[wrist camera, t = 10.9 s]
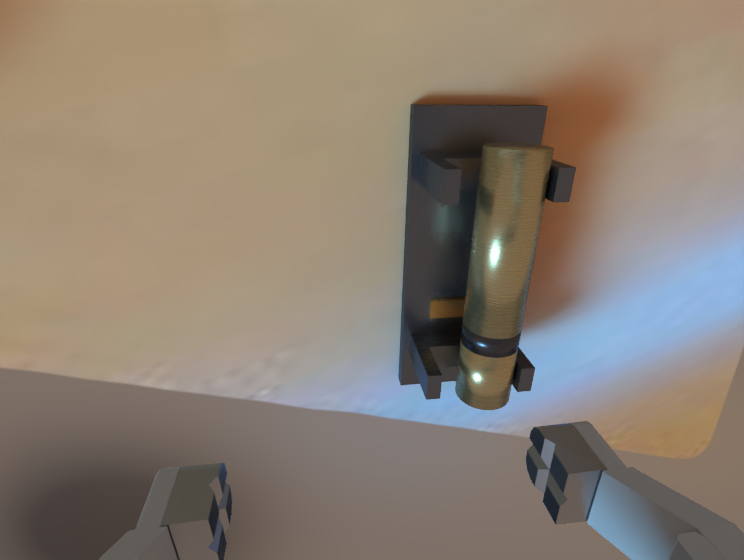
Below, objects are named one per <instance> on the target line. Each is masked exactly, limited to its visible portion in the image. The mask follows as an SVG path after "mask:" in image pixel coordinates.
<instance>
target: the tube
mask: <svg viewBox="0 0 744 560" xmlns="http://www.w3.org/2000/svg"><path fill="white" fill-rule="evenodd" d="M553 151H554V148H552V147H550V146H545V145H539V144H531V143H516V142H496V143H486V144H483V147H482V156H481V165H480V174H479V183H478V192H477V200H476V209H475V218H474V227H473V236H472V245H471V253H470V262H469V271H468V280H467V289H466V298H465V307H464V315H463V324H462V333H461V342H460V351H459V360H458V368H457V377H456V386H455V391H456V394H457V396H458V397H459V398H460V400H462V401H463V402H464V403H466V404H467V405H469V406H471V407H474V408H477V409H482V410H495V409H499V408H501V407H503V406H505V405H506V404H507V402H508V400H509V396H510V390H511V385H512V379H513V374H514V368H515V362H516V357H517V351H518V346H519V340H520V335H521V329H522V324H523V318H524V312H525V307H526V301H527V296H528V290H529V285H530V279H531V273H532V268H533V262H534V257H535V251H536V246H537V240H538V234H539V229H540V223H541V218H542V212H543V207H544V201H545V195H546V190H547V184H548V179H549V173H550V168H551V162H552V157H553Z"/></svg>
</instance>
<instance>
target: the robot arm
mask: <svg viewBox="0 0 744 560" xmlns="http://www.w3.org/2000/svg"><path fill="white" fill-rule="evenodd" d="M530 440H531V441H532V443H533V445H532V446H531V447H530V448H529V449H528V450H527V455H526V464H527V470H528V473H529V476H530V479H531V481H532V483H533V484H534V486H535V487H536V488H538V489H539V490H540V491H542V492H543V493H544V497H543V503H544V505H545V506H546V508H547V510H548V512H549V513H550V515H551V517H552V519H553V521H554V523H555V524H565V523H573V522H583V521H587V523H588V524H589V525H590V526H591V527H593V528H594V529H595V530H596V531H598V532H599V533H600V534H601V535H602V536H604V537H605V538H606V539H607V540H608V541H610V542H611V543H612V544H613V545H615V546H616V547H617V548H618V549H619V550H621V551H622V552H623V553H624V554H625V555H627V556H628V557H629V558H630V559H632V560H744V533H743V532H742V531H741V530H740V529H739V528H738V527H737V526H736V525H735V524H734V523H732V522H730V521H728V520H726V519H725V518H723V517H721V516H719V515H718V514H716V513H714V512H712V511H710V510H709V509H707V508H705V507H703V506H701V505H700V504H698V503H696V502H694V501H692V500H690V499H689V498H687V497H685V496H683V495H681V494H680V493H678V492H676V491H674V490H672V489H671V488H669V487H667V486H665V485H663V484H662V483H660V482H658V481H656V480H655V479H653V478H651V477H649V476H647V475H646V474H644V473H642V472H640V471H638V470H637V469H635V468H633V467H629V468H627V467H626V466H625V465H624V463H623V462H622V461H621V460H620V459H619V457H618V456H617V455H616V453H615V452H614V451H613V450H612V449H611V447H610V446H609V445H608V444H607V443H606V441H605V440H604V439H603V438H602V436H601V435H600V434H599V433H598V432H597V430H596V429H595V428H594V427H593V425H592V424H591V423H589V422H587V421H582V422H573V423H568V424H567V423H564V424H556V425H548V426H540V427H534V428H533V429H532V430H531V433H530ZM226 476H227V470H226V467H225V464H224V463H214V464H202V465H191V466H182V467H172V468H161V469H160V471H159V472H158V473H157V474H156V477H155V479H154V482H153V485H152V487H151V490H150V492H149V495H148V498H147V500H146V503H145V506H144V508H143V511H142V514H141V516H140V519H139V521H138V524H137V526H136V529H135V530H132V531H128V532H127V533H126V534H125V535H124V536H123V537H122V538H121V539H120V540H119V541H118V542H117V543H115V544H114V545H113V546H112V547H111V548H110V549H109V550H108V551H107V552H106V553H105V554H104V555H103V556H102V557H101V558H100V559H99V560H224V556H225V549H226V545H227V543H226V538H225V534H224V532H225V531H226V530H227V528H228V527H229V526H230V520H231V515H232V494H231V488H230V485H228V484H227V483H226V482H225V481H226Z"/></svg>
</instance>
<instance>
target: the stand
mask: <svg viewBox="0 0 744 560" xmlns="http://www.w3.org/2000/svg"><path fill="white" fill-rule="evenodd" d="M546 112H547V106H543V105H411V113H410V135H409V157H408V180H407V202H406V224H405V247H404V269H403V291H402V313H401V336H400V358H399V381H400V384H401V385H408V384H421V387H422V390H423V393H424V395H425V398H426V399H438V398H440V392H441V382H446V381H456V377H457V368H458V360H459V351H460V342H461V333H462V324H463V315H464V307H465V298H466V289H467V280H468V271H469V262H470V253H471V245H472V236H473V227H474V218H475V209H476V200H477V192H478V183H479V174H480V165H481V156H482V147H483V144H486V143H496V142H516V143H531V144H539V145H541V141H542V135H543V129H544V124H545V118H546ZM575 170H576V167H573V166H570V165H567V164H564V163H561V162H558V161H555V160H552V162H551V168H550V173H549V179H548V184H547V190H546V195H545V198H546V199H548V200H550V201H552V202H569V199H570V194H571V189H572V184H573V179H574V174H575ZM534 371H535V367H534V366H533V365H532V364H531V362H530V361H529V360H528V359H527V357H526V356H525V355H524V353H523V352H522V351H521V350H520V348H519V347H518V351H517V357H516V362H515V368H514V374H513V379H512V384H513V386H514V387H515V389H516V390H517V392H521V391H530V390H531V385H532V381H533V376H534Z"/></svg>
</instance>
